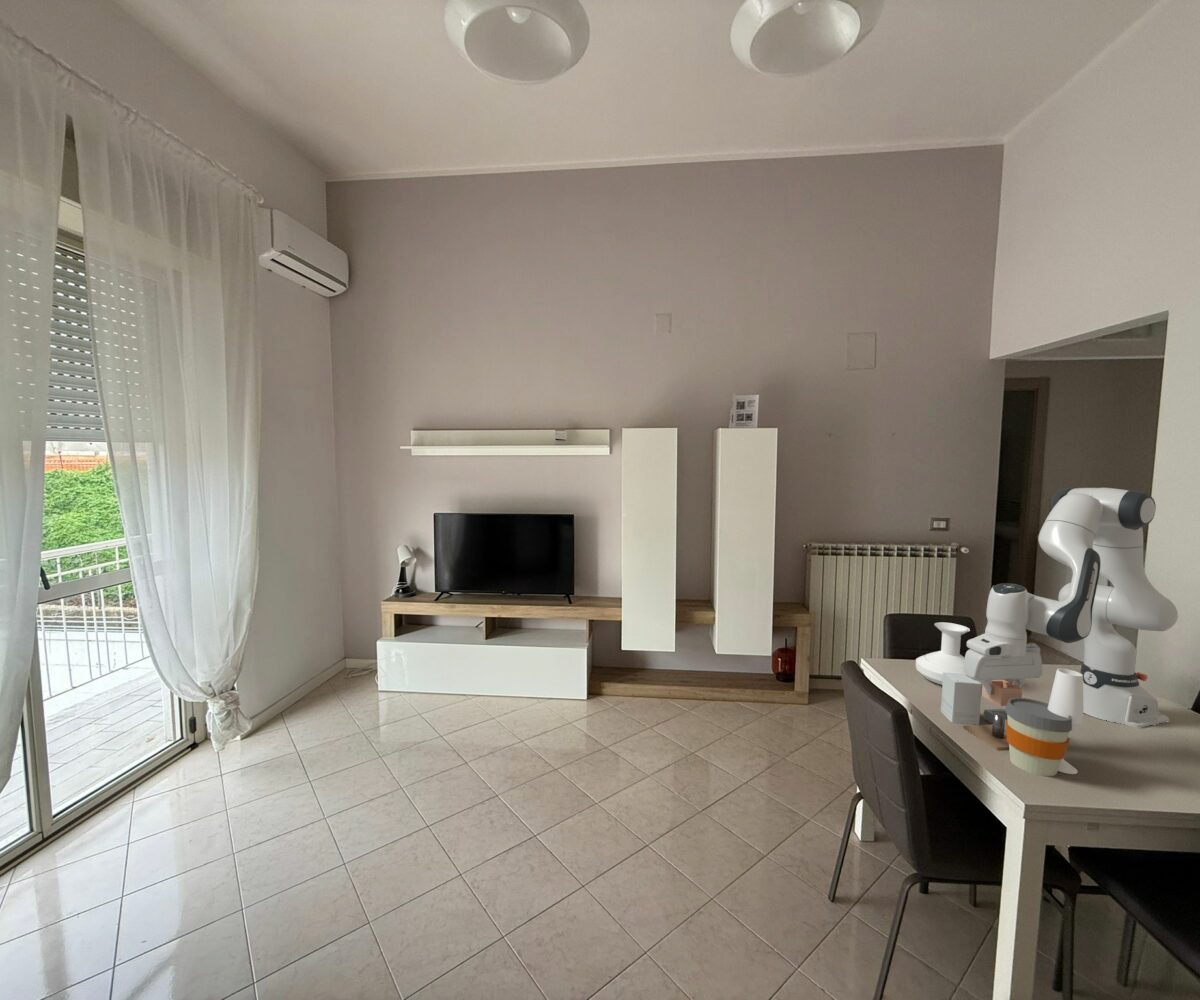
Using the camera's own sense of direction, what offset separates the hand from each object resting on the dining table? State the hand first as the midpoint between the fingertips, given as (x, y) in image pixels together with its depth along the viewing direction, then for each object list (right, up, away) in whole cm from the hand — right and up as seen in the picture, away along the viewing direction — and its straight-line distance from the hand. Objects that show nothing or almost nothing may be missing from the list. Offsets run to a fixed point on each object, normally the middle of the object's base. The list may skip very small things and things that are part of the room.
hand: (1001, 693), depth 138 cm
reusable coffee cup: (-1, -14, -11) cm, 18 cm away
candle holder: (+12, -11, +39) cm, 42 cm away
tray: (+11, -13, +7) cm, 18 cm away
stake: (0, -12, +1) cm, 12 cm away
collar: (0, -2, 0) cm, 2 cm away
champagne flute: (+5, -14, -12) cm, 19 cm away
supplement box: (-2, -13, +13) cm, 18 cm away
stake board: (0, -13, +1) cm, 13 cm away
